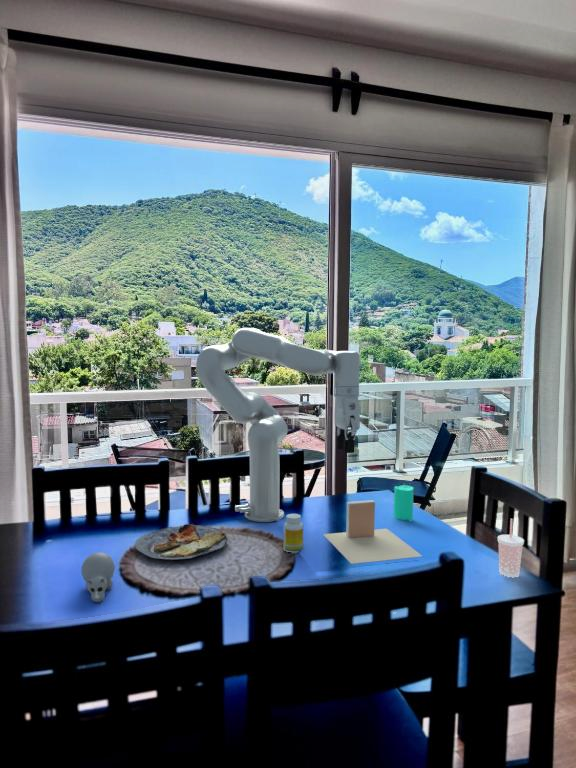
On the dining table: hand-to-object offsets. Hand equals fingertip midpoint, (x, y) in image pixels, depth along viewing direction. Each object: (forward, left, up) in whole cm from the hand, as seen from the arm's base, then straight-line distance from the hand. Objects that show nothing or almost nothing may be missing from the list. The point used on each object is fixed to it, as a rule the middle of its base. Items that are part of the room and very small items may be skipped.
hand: (345, 450), depth 176 cm
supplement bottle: (-21, -16, -24) cm, 35 cm away
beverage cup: (+27, -44, -24) cm, 57 cm away
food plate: (-50, -6, -24) cm, 56 cm away
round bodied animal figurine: (-71, -30, -24) cm, 81 cm away
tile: (0, -13, -22) cm, 26 cm away
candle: (+20, 0, -24) cm, 31 cm away
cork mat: (0, -20, -23) cm, 31 cm away
